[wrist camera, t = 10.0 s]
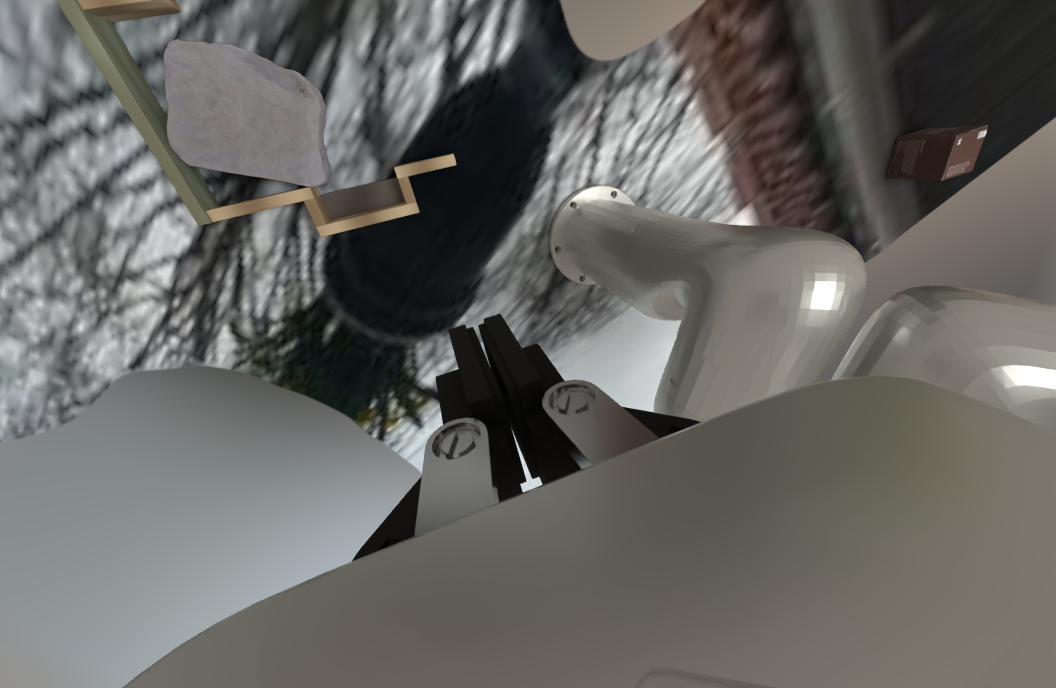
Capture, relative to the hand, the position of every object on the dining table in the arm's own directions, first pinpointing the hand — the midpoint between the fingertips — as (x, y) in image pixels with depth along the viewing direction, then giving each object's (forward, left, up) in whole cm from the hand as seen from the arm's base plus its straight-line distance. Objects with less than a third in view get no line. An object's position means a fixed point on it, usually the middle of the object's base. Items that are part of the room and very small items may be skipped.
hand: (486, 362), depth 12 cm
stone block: (+12, -11, -36) cm, 39 cm away
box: (-74, +9, -35) cm, 83 cm away
